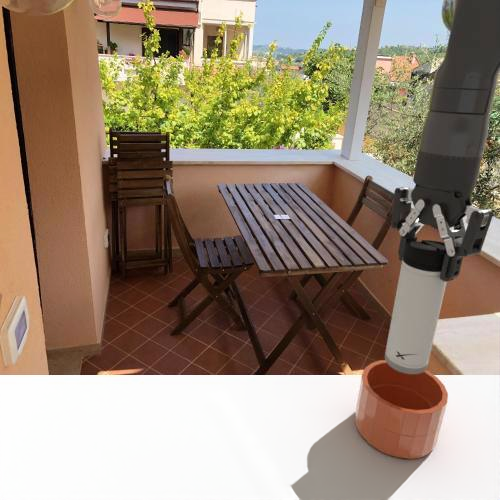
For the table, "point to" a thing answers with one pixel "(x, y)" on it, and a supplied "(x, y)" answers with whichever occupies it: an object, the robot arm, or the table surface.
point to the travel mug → (416, 307)
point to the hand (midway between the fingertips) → (425, 269)
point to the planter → (400, 410)
